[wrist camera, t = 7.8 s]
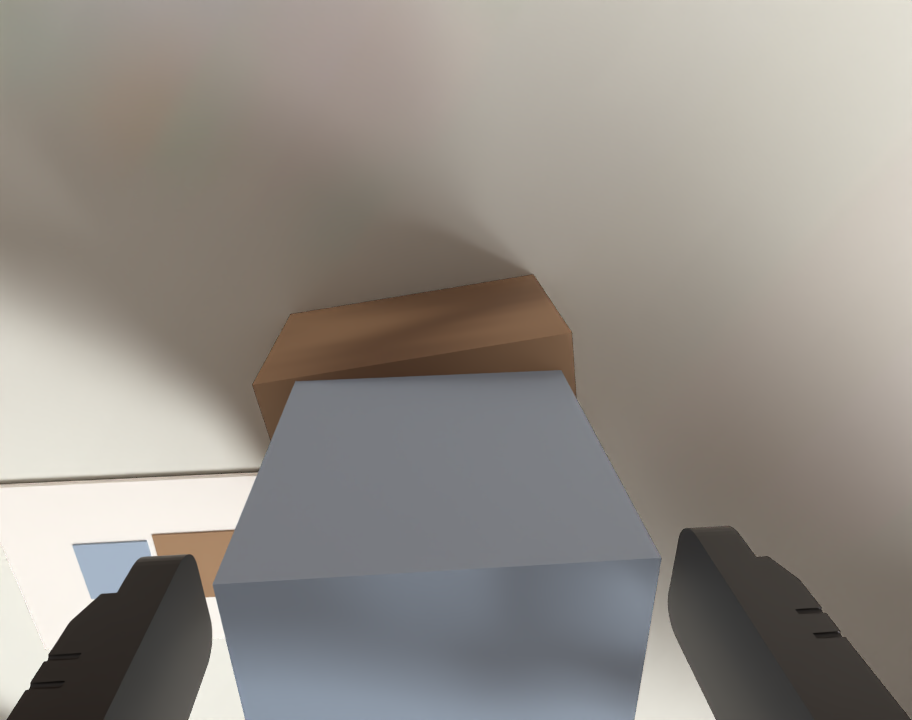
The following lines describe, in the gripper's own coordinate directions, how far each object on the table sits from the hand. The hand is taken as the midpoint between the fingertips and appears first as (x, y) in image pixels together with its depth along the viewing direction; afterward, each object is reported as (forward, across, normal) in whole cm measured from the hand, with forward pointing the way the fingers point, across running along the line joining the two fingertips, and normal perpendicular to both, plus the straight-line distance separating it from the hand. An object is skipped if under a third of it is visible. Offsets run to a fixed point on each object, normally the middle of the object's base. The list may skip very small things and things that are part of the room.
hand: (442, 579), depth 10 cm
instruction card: (+6, +8, +5) cm, 11 cm away
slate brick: (+3, 0, 0) cm, 3 cm away
